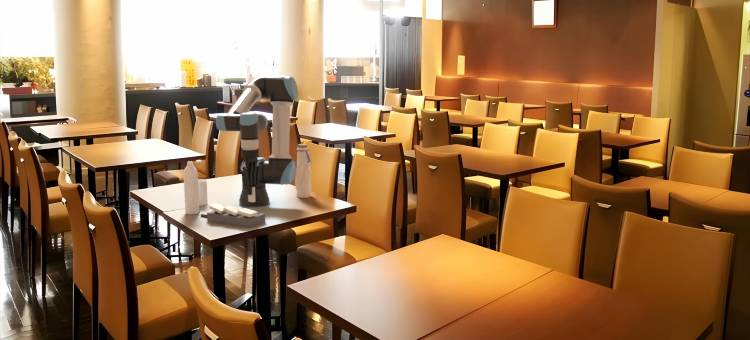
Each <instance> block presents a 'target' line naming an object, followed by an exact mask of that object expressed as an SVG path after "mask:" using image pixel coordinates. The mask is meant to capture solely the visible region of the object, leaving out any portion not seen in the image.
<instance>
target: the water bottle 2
mask: <svg viewBox="0 0 750 340" xmlns="http://www.w3.org/2000/svg"><path fill="white" fill-rule="evenodd" d="M295 151H297V152H296V156H297V157H296V170H295V176H294V186H295V189H296V194H295V195H296V196H295V197H296V198H297V199H298V198H299V199H306V198H311V193H312V191H313V190H312V189H313V185H312V184H313V183H312V168H311V167H312V166H311V164H312V163H313V161H312V153H311V149H309V148H308V144H307V143H299V144H297V148H296V149H295Z"/></svg>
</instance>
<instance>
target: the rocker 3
mask: <svg viewBox="0 0 750 340" xmlns="http://www.w3.org/2000/svg"><path fill="white" fill-rule="evenodd" d="M239 209H240V210H238V212H237V213H238V214H241V215H244V216H248V217H252V216H255V215H257V213H258V211H256V210H252V209H251V208H247V207H243V208H239Z"/></svg>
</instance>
